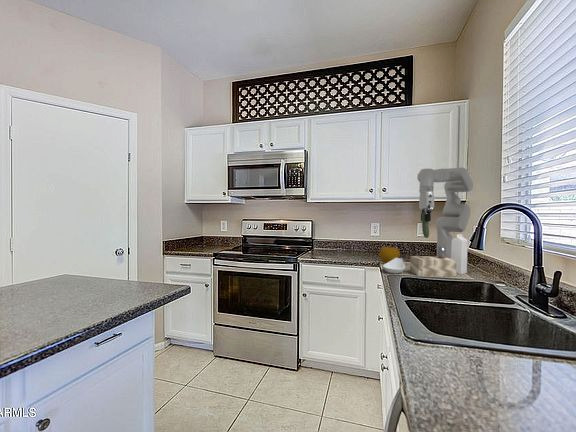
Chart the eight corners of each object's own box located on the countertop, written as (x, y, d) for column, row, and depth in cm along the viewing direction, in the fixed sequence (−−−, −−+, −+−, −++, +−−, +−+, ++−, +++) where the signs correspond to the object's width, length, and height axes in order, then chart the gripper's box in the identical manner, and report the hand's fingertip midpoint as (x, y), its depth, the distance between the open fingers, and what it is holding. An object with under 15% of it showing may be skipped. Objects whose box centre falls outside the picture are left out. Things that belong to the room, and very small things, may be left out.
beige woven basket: (445, 272, 171) (445, 246, 171) (456, 276, 160) (456, 248, 160) (410, 271, 171) (410, 245, 171) (418, 275, 160) (419, 247, 160)
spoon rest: (402, 276, 160) (402, 262, 160) (380, 273, 167) (380, 260, 167) (410, 269, 180) (410, 257, 180) (390, 267, 187) (390, 255, 187)
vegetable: (426, 238, 175) (427, 204, 174) (419, 238, 178) (420, 204, 178) (430, 238, 177) (431, 204, 177) (423, 237, 181) (424, 204, 180)
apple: (379, 261, 205) (379, 245, 205) (399, 263, 201) (400, 246, 201) (378, 264, 193) (379, 247, 193) (400, 266, 189) (400, 248, 189)
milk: (450, 272, 173) (451, 233, 173) (456, 271, 176) (457, 233, 176) (461, 274, 168) (462, 234, 168) (467, 273, 171) (467, 234, 171)
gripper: (440, 189, 169) (439, 221, 169) (426, 191, 186) (425, 220, 186) (426, 188, 169) (425, 221, 169) (413, 190, 186) (413, 220, 186)
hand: (425, 220), depth 177 cm, fingers closed on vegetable, 4 cm apart
